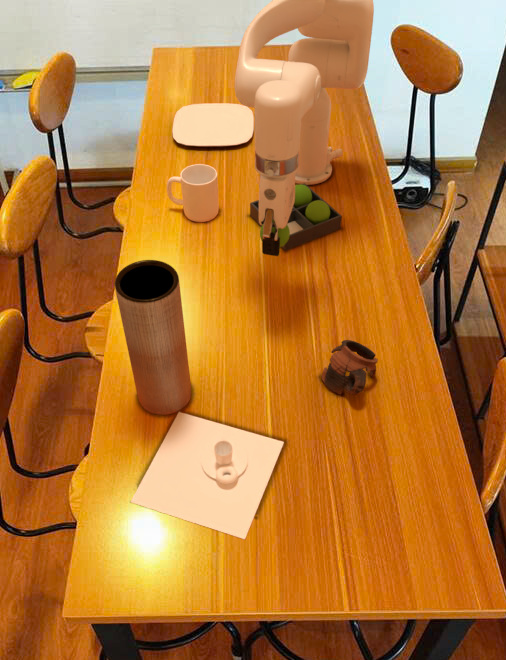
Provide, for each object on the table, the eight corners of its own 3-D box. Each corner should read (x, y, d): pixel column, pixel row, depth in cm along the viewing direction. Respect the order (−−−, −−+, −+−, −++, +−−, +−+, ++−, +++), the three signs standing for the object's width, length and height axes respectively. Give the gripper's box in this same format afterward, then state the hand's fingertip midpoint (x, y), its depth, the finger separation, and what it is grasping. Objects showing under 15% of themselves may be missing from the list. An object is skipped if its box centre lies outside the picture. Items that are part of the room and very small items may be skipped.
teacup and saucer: (236, 491, 114) (236, 477, 111) (192, 477, 116) (190, 464, 112) (254, 450, 119) (254, 436, 116) (211, 437, 121) (210, 423, 118)
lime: (278, 232, 134) (279, 208, 130) (294, 248, 131) (296, 224, 126) (254, 242, 132) (254, 218, 128) (269, 258, 129) (270, 234, 125)
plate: (253, 150, 179) (253, 144, 178) (170, 151, 179) (169, 145, 178) (253, 108, 193) (253, 102, 191) (176, 109, 193) (175, 103, 192)
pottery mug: (312, 368, 131) (331, 331, 127) (353, 379, 135) (373, 344, 131) (331, 404, 122) (353, 366, 118) (375, 415, 125) (398, 378, 121)
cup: (215, 224, 159) (213, 186, 151) (164, 219, 161) (160, 181, 153) (222, 203, 164) (220, 165, 157) (173, 199, 166) (169, 161, 158)
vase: (192, 413, 124) (179, 299, 103) (137, 417, 124) (113, 303, 102) (190, 372, 130) (178, 256, 109) (138, 376, 130) (115, 261, 109)
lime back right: (320, 213, 160) (321, 192, 156) (333, 225, 157) (336, 205, 153) (299, 221, 159) (301, 200, 154) (313, 233, 156) (315, 213, 151)
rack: (303, 196, 166) (304, 182, 163) (340, 228, 158) (341, 215, 155) (250, 215, 161) (249, 202, 158) (284, 251, 153) (285, 237, 150)
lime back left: (302, 197, 164) (303, 176, 160) (315, 209, 161) (317, 188, 157) (282, 204, 163) (283, 184, 158) (295, 217, 160) (297, 196, 155)
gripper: (287, 190, 111) (284, 276, 126) (308, 134, 122) (302, 219, 136) (242, 184, 113) (244, 269, 127) (266, 129, 123) (265, 214, 137)
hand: (274, 243), depth 131 cm, fingers closed on lime, 5 cm apart
